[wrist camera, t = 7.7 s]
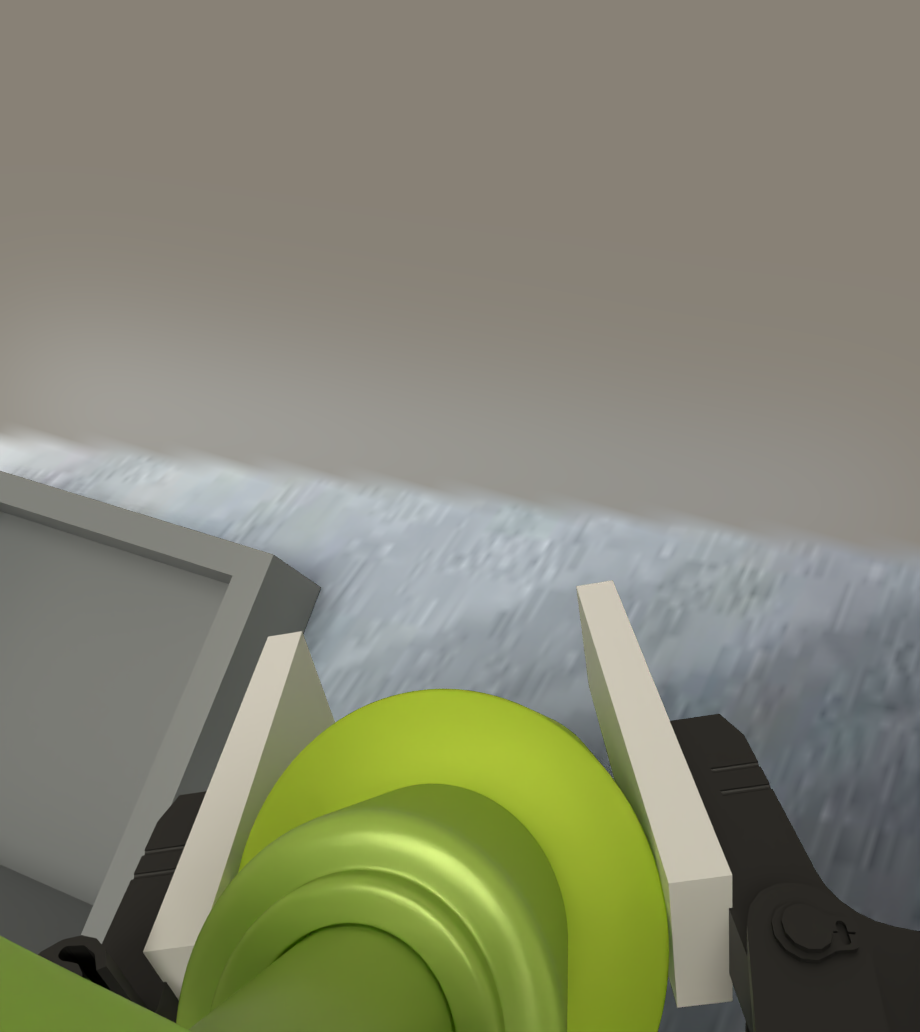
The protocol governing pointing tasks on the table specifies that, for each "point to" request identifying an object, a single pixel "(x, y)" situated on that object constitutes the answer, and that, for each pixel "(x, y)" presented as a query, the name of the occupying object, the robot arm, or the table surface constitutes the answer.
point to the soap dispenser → (413, 893)
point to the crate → (113, 691)
